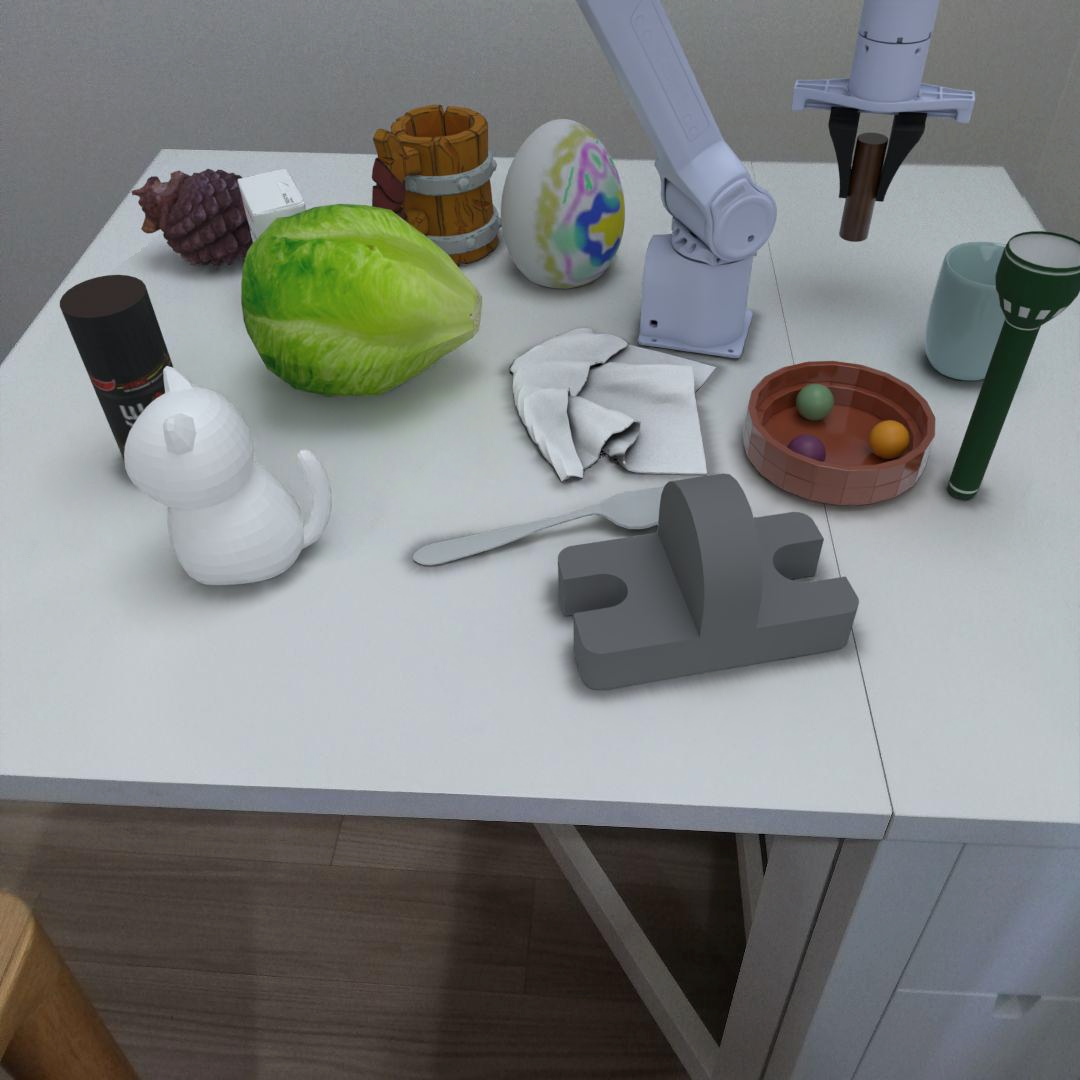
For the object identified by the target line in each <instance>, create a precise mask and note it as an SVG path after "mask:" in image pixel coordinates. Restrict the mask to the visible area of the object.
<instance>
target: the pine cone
mask: <svg viewBox="0 0 1080 1080" xmlns="http://www.w3.org/2000/svg"><path fill="white" fill-rule="evenodd" d="M240 178H243V177H242V176H241V174H236V173H235V172H227V171H225V170H223V169H216V171H215V170H213V169H211V168H206V169H205V170H202V171H200V172H193V173H192V174H191V175H190V174H187V173H185V172H184V171H181V170H175V171H173V172H170V179H169V180H168V181H163V182H162V181H161V179H160V178H159V177H158V176H154V175H153V176H150V177H148V178H147V180H146V182H145V183H144V184H143V186H142V187H140V188H136V189H134V190H131V195H132V196H136V197H138V198H139V199H138V201H137V203H138V205H139V206H140V207H141V211H142V212H143V213H144V220H143V223H142V226H141V228H140V229H141V231H142V233H145V234H153V233H156V232H158V231H162V237H163V238H164V240H166V244H167V245H168V247H170V248H171V249H172V251H173V252H174V253H176V254H179V256H180V257H181V258H182V259H183V260H185V261H187V262H188V264H189V265H191V266H198V265H200V264H201V265H202V266H205V265H206V266H207V265H209V264H210V265H211V266H212V268H218V267H220V266H221V265H222V264H223V263H225V264H226V265H228V266H229V265H233V264H234V262H235V259H237V258H239V259H240V260H245V258H246V254H247V251H248V250H249V248H250V247H251V245H252V244H253V241H252V237H251V233H250V228H249V224H248V220H247V216H246V212H245V208H244V204H243V200H242V196H241V192H240V188H239V184H238V179H240Z"/></svg>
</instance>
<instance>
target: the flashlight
mask: <svg viewBox="0 0 1080 1080" xmlns="http://www.w3.org/2000/svg"><path fill="white" fill-rule="evenodd" d="M1005 244H1006V247H1005V249H1004V251H1003V253H1002V256H1001V259H1000V262H999V265H998V268H997V272H996V275H995V281H996V296H997V300H998V303H999V305H1000V307H1001V309H1002V311H1003V313H1004V316H1005V321H1004V324H1003V326H1002V329H1001V332H1000V335H999V338H998V341H997V344H996V347H995V349H994V352H993V355H992V358H991V361H990V364H989V367H988V370H987V372H986V375H985V378H984V379H983V381H982V384H981V387H980V390H979V393H978V395H977V399H976V402H975V404H974V406H973V410H972V413H971V416H970V419H969V422H968V424H967V427H966V429H965V430H966V431H965V433H964V436H963V439H962V441H961V445H960V447H959V451H958V453H957V456H956V459H955V462H954V464H953V467H952V470H951V472H950V476H949V480H948V482H947V490H948V492H949V494H950V495H951V496H952V497H953V498H955V499H958V500H963V501H964V500H965V501H966V500H971V499H973V498H974V497H976V495H977V494H978V493H979V490H980V487H981V485H982V483H983V481H984V477H985V475H986V473H987V469H988V467H989V464H990V461H991V459H992V457H993V454H994V452H995V449H996V446H997V443H998V440H999V437H1000V435H1001V433H1002V429H1003V428H1004V424H1005V422H1006V419H1007V416H1008V414H1009V411H1010V408H1011V406H1012V403H1013V402H1014V401H1013V400H1014V398H1015V395H1016V393H1017V390H1018V388H1019V386H1020V385H1019V384H1020V382H1021V380H1022V378H1023V377H1022V376H1023V375H1024V372H1025V369H1026V366H1027V364H1028V361H1029V358H1030V355H1031V354H1032V351H1033V348H1034V346H1035V342H1036V340H1037V338H1038V335H1039V333H1040V329H1041V326H1043V325H1045V324H1046V323H1048V322H1049V321H1051V320H1053V319H1055V318H1056V317H1057V316H1059V315H1060V314H1063V312H1064V311H1066V309H1068V307H1069V306H1070V305H1072V303H1073V302H1074V300H1076V299H1077V297H1078V296H1079V294H1080V240H1078V239H1076V238H1074V237H1071V236H1069V235H1065V234H1062V233H1057V232H1053V231H1045V230H1044V231H1043V230H1031V231H1024V232H1020V233H1017V234H1015V235H1013V236H1012V237H1010V238H1009V240H1008V241H1007V242H1006V243H1005Z"/></svg>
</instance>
